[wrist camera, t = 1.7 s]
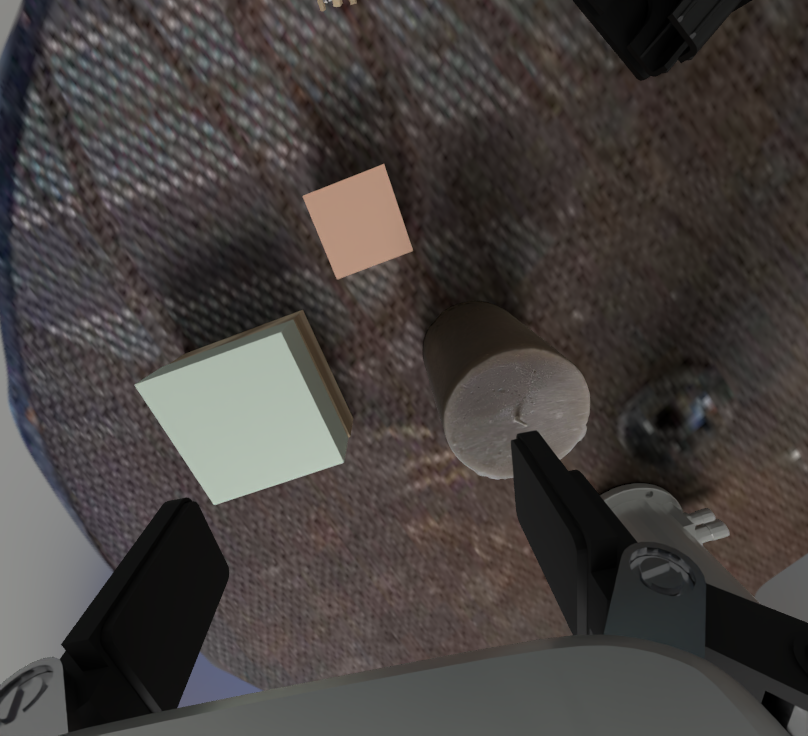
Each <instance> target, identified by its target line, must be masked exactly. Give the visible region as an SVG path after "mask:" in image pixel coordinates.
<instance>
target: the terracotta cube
mask: <svg viewBox="0 0 808 736" xmlns="http://www.w3.org/2000/svg"><path fill="white" fill-rule="evenodd" d="M303 199H304V201H305V203H306V206H307V208H308V211H309V213H310V216H311V218H312V220H313V223H314V225H315V228H316V230H317V232H318V235H319V237H320V240H321V242H322V244H323V247H324V249H325V252H326V254H327V257H328V259H329V261H330V264H331V266H332V269H333V271H334V273H335V276H336V278H337V279H340V278H342V277H345V276H347V275H350V274H353V273H355V272H358V271H361V270H363V269H366V268H369V267H371V266H374V265H377V264H379V263H382V262H385V261H387V260H390V259H393V258H395V257H398V256H401V255H403V254H406V253H409V252H411V251H413V249H412V246H411V243H410V240H409V237H408V234H407V231H406V228H405V225H404V222H403V219H402V216H401V213H400V210H399V207H398V204H397V201H396V198H395V195H394V192H393V189H392V186H391V183H390V180H389V177H388V174H387V171H386V168H385V165H384V164H382V165H380V166H377V167H375V168H372V169H370V170H367V171H365V172H362V173H360V174H357V175H354V176H352V177H349V178H347V179H344V180H342V181H339V182H337V183H334V184H332V185H329V186H327V187H324V188H322V189H319V190H317V191H314V192H312V193H309V194H306V195H304V196H303Z"/></svg>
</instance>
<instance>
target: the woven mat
mask: <svg viewBox="0 0 808 736" xmlns="http://www.w3.org/2000/svg"><path fill="white" fill-rule="evenodd" d="M317 1H318V4H319V7H320V10H321V11H324V10H326V8H325V3H327V0H317ZM329 1H333V6H334V7H340V6H341V5H342V3H343V2H342V0H329ZM349 1H350V5H351V4H356V3H357V1H356V0H349ZM367 1H368V0H367Z"/></svg>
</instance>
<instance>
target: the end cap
mask: <svg viewBox="0 0 808 736" xmlns="http://www.w3.org/2000/svg"><path fill="white" fill-rule="evenodd" d="M573 1H574V3H575V4H576V5H577V6H578V7H579V9H580V10H581V11H582V12H583V13H584V15H585V16H586V17H587V18H588V20H589V21H590V22H591V23H592V24H593V26H594V27H595V28H596V29H597V30H598V32H599V33H600V34H601V35H602V37H603V38H604V39H605V40H606V41H607V43H608V44H609V45H610V46H611V47H612V49H613V50H614V51H615V52H616V54H617V55H618V56H619V57H620V58H621V60H622V61H623V62H624V63H625V64H626V66H627V67H628V68H629V69H630V71H631V72H632V73H633V74H634V75H635V77H636V78H637V79H639V80H645V79H647V78H648V77H650V76H658V75H660V74H661V73H666V72H668V71H669V70H670V69H671V67H672V66H673V65H674V64H675V63H676V61H677V60H679V61H680V62H681V63H682V62H684V61H686V60H691V59H692V58H693V57H694V56H695V55H696V53H697V52H698V51H699V50H700V49H701V48H702V46H703V45H704V44H705V43H706V42H707V41H708V39H709V38H710V37H711V36H712V35H713V34H714V32H715V31H716V30H717V29H718V28H719V26H720V25H721V24H722V23H723V22H724V21H725V19H726V18H727V17H728V16H729V15H730V14H731V13H732V12H733V11H735V10H737V9H738V8H740V7H742V6H743V5H745V4H747V3H748V2H750V1H752V0H573Z"/></svg>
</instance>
